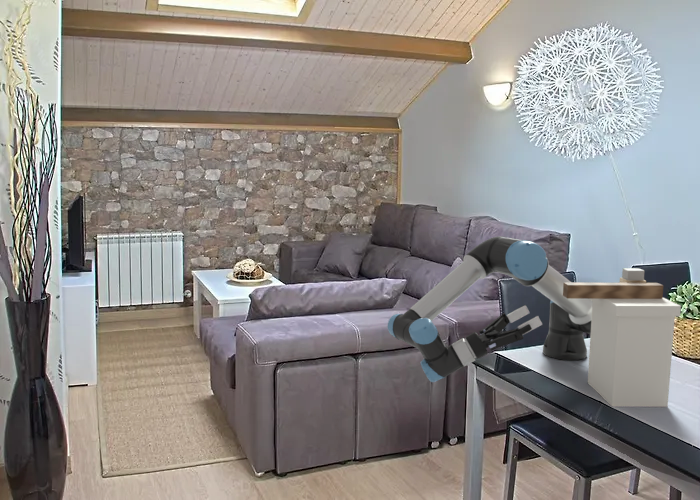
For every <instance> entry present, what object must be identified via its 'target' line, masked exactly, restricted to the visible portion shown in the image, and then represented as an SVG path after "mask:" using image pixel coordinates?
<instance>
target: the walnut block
mask: <svg viewBox="0 0 700 500" xmlns="http://www.w3.org/2000/svg"><path fill="white" fill-rule="evenodd" d="M663 295H664V285H663V284H661V283H658V282H646V283H619V282H589V281H588V282H585V281H584V282H581V281H580V282H576V281H575V282H572V281H570V282H564V283H563V296H564V297H566V298H567V299H663V298H664V296H663Z"/></svg>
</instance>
